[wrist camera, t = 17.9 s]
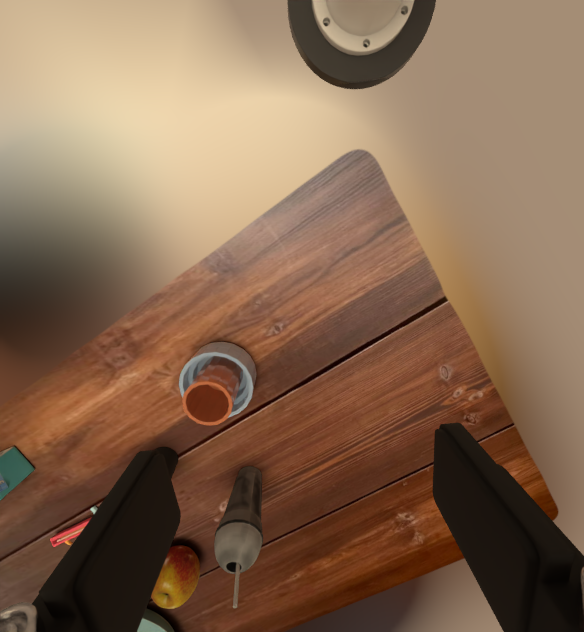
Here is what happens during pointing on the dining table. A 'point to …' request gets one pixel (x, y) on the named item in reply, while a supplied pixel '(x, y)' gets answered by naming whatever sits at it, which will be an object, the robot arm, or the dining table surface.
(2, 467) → the game box
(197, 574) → the fruit
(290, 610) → the dining table surface
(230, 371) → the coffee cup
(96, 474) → the dining table surface
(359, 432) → the dining table surface
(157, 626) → the green plate
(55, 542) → the orange long tool
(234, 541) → the beverage cup
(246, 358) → the bowl
